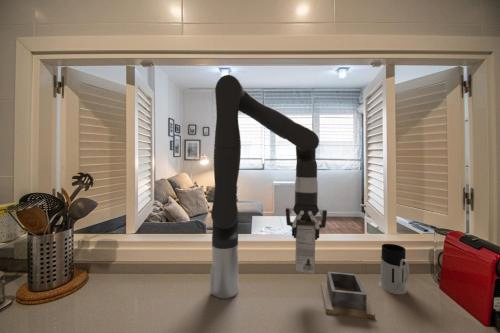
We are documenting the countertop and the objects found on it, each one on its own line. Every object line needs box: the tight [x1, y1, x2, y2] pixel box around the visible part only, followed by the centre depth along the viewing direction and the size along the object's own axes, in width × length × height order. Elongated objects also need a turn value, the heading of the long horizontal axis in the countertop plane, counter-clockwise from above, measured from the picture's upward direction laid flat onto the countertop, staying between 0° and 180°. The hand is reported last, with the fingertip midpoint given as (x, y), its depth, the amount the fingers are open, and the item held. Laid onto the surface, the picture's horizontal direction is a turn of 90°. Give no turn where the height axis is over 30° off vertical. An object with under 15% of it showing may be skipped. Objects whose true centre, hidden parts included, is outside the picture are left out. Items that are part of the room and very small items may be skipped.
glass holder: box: [378, 243, 410, 295], centre depth 84 cm, size 9×14×15 cm, turn 174°
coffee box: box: [295, 219, 316, 274], centre depth 82 cm, size 9×6×16 cm
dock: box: [320, 271, 376, 320], centre depth 80 cm, size 14×16×6 cm
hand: (305, 238), depth 82 cm, fingers closed on coffee box, 6 cm apart
